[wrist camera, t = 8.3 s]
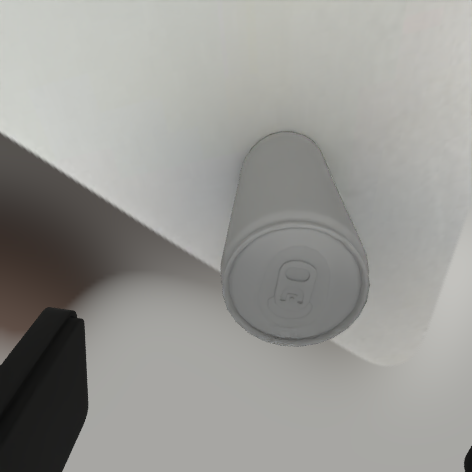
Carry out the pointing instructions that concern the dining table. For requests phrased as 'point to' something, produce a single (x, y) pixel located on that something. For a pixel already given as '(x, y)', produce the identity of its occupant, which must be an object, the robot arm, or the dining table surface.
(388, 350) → the dining table surface
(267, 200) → the beverage can
